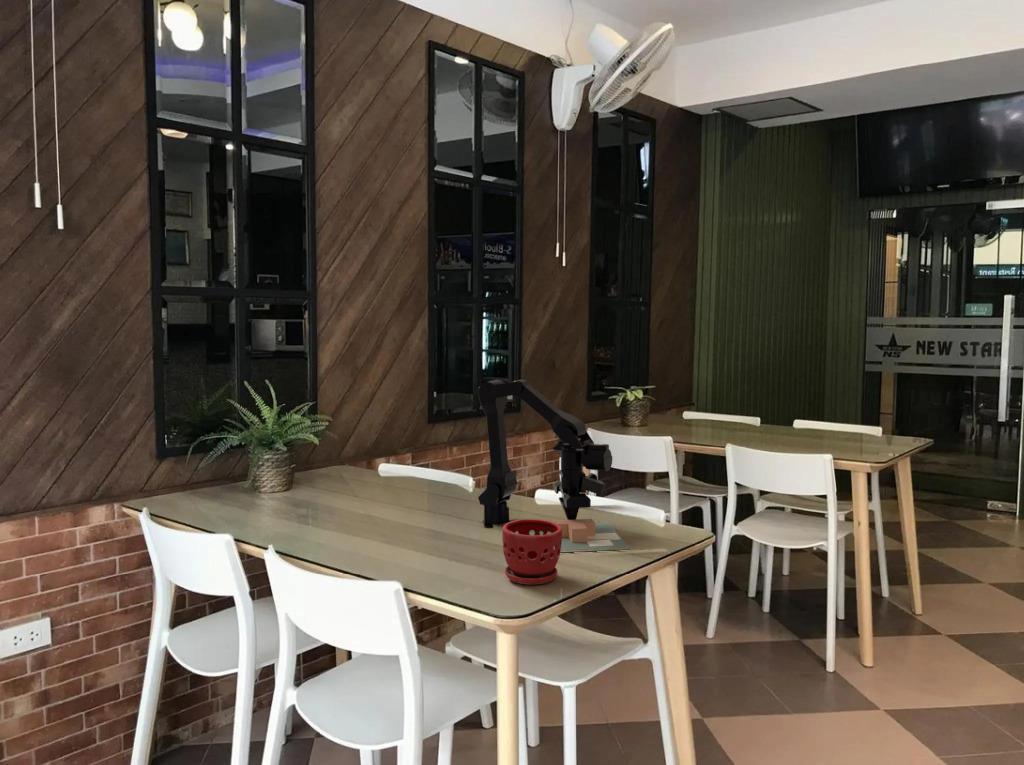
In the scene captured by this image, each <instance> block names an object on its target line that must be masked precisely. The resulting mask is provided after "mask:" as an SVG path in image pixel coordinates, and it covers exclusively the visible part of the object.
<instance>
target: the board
mask: <svg viewBox="0 0 1024 765" xmlns="http://www.w3.org/2000/svg"><path fill="white" fill-rule="evenodd" d="M529 534H530V535H534V534H535V531H533V530H531V531H530V532H529ZM547 534H551V532H547ZM540 535H543V532H542V531H540ZM554 548H555V546H554ZM554 548H553V549H554ZM630 548H631V547H630V545H628V543H627V542H626V541H625V540H624V538H623V537H622V536H621V535H620V534H619V533H618V532H617V531H616V529H615V527H613V526H612V525H611V524H610V523H609V522H595V536H588V542H575V543H572V542H571V540H570V539H569V538H568V537H562V544H561V551H560V553H569V554H575V553H574V552H593V553H598V552H597V551H617V550H618V551H617V552H620V551H619V550H620V549H622V550H630V551H631V549H630Z"/></svg>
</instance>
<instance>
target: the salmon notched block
mask: <svg viewBox="0 0 1024 765" xmlns="http://www.w3.org/2000/svg"><path fill="white" fill-rule="evenodd" d="M553 522H554V523H556V524H558V525H559V526H561V528H562V537H568V538H569V539H570V540H571V542H572V543H575V542H588V536H595V523H596V522H595V521H594V520H593V519H592V518H582V519H581V518H580V519H578V518H576V519H574V520H567V519H556V520H555V519H554V520H553Z"/></svg>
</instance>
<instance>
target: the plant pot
mask: <svg viewBox="0 0 1024 765" xmlns="http://www.w3.org/2000/svg"><path fill="white" fill-rule="evenodd" d="M531 530H533V531H535V534H534V535H530V534H529V532H530V531H531ZM540 531H542V532H543V535H540ZM547 532H551V534H547ZM561 544H562V528H561V526H559V525H558V524H556V523H554V521H551V520H545V519H533V518H532V519H531V518H523V519H516V520H512V521H509V522H508V523H504V524H503V526H502V549H503V556H504V559H505V562H506V564H507V566H506V567H505V568H504V574H505V575H506V577H507V578H508V579H509V580H511V581H512V582H514V583H518V584H521V585H522V584H523V585H530V586H533V585H534V586H536V585H543V584H547V583H550V582H552V581H553V580H554V579H555V578H556V577H557V576H558V570H557V568H556V566H557V564H558V561H559V560H560V555H561V554H560V552H562V551H561ZM554 546H555V548H554ZM553 548H554V549H553Z"/></svg>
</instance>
